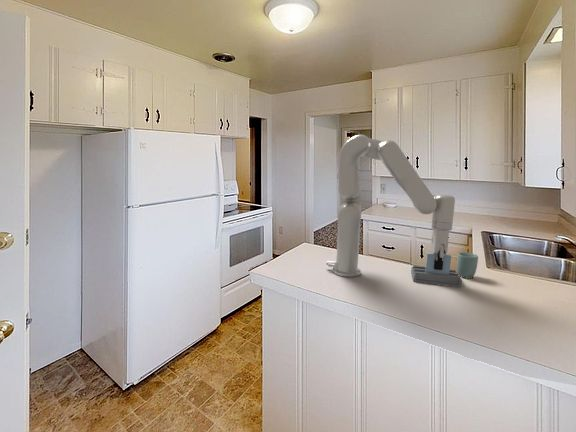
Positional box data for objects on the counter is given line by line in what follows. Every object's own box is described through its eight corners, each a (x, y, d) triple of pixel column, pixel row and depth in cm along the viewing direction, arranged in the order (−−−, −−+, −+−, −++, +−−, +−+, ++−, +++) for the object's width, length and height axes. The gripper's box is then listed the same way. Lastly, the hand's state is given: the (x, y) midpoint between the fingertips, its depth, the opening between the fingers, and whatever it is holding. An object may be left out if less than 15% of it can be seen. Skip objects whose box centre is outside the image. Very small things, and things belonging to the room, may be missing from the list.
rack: (413, 281, 131) (414, 272, 130) (411, 273, 141) (411, 264, 140) (461, 287, 126) (462, 278, 125) (455, 278, 136) (456, 269, 136)
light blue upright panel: (424, 278, 132) (427, 253, 130) (424, 277, 133) (426, 252, 131) (448, 281, 129) (451, 256, 127) (447, 280, 131) (450, 254, 129)
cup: (457, 272, 144) (460, 251, 142) (476, 276, 139) (479, 254, 137) (453, 276, 138) (456, 254, 136) (473, 281, 133) (476, 258, 132)
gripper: (429, 221, 136) (425, 262, 139) (435, 228, 121) (430, 273, 124) (448, 222, 134) (443, 263, 137) (456, 230, 119) (451, 276, 122)
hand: (437, 268), depth 130 cm, fingers closed on light blue upright panel, 1 cm apart
